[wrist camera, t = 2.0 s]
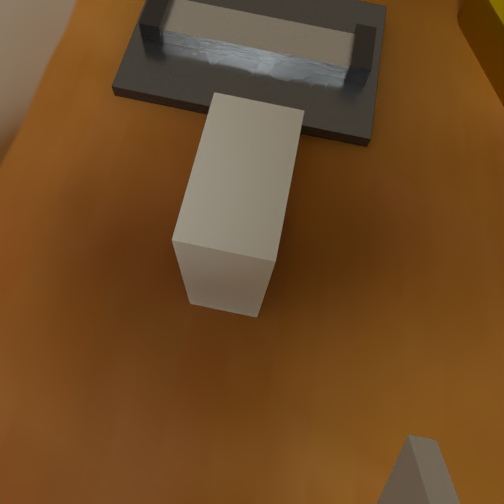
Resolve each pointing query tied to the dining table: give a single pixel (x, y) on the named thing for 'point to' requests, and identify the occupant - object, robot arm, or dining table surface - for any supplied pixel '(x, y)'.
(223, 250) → the block
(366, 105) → the mounting plate
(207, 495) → the dining table surface
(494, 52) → the element tile
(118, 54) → the dining table surface
